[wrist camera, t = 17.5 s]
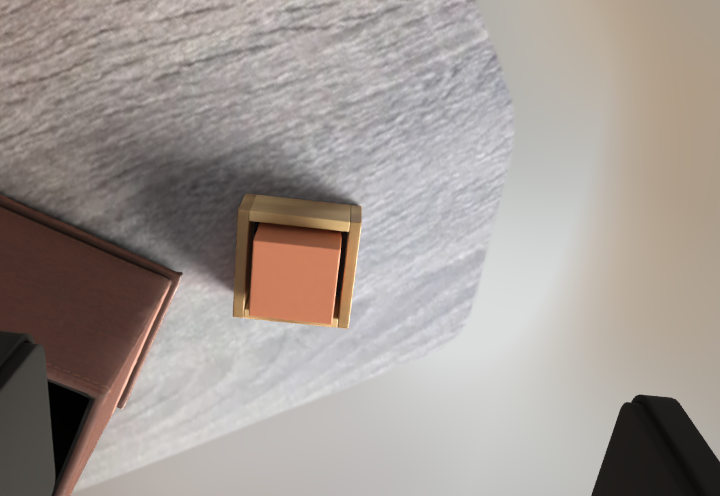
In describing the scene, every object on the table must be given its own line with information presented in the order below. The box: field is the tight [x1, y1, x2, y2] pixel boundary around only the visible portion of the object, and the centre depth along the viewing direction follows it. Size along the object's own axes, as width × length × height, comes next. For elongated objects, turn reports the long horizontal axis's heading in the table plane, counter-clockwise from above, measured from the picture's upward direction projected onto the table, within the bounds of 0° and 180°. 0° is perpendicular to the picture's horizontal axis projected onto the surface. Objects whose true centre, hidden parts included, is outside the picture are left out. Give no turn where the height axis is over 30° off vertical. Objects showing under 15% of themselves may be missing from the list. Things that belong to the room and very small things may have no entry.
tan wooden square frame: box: [233, 193, 362, 329], centre depth 37 cm, size 6×6×2 cm
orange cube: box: [249, 222, 342, 324], centre depth 37 cm, size 4×4×4 cm
